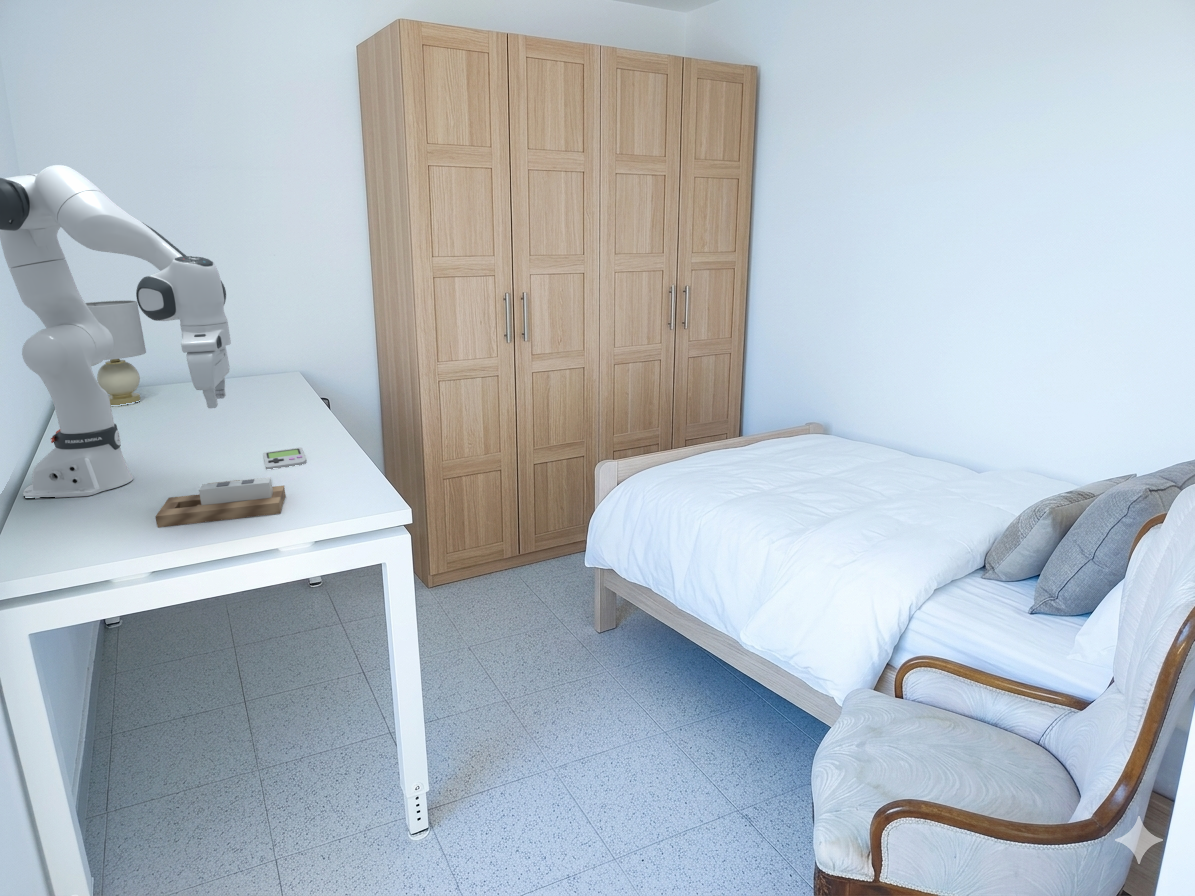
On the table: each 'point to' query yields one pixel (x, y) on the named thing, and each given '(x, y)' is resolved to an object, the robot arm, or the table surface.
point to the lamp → (120, 348)
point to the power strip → (236, 491)
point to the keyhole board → (216, 509)
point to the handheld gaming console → (284, 458)
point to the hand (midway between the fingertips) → (217, 402)
